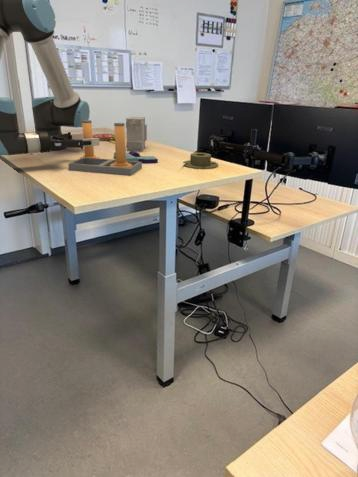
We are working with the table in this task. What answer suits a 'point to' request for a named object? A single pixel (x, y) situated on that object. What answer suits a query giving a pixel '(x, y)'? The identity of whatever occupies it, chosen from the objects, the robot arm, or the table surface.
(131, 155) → the pistol
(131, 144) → the circuit breaker
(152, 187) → the table surface
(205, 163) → the flange
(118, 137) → the orange capped peg
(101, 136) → the mechanical gear assembly
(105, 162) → the tray
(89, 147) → the orange joystick peg
